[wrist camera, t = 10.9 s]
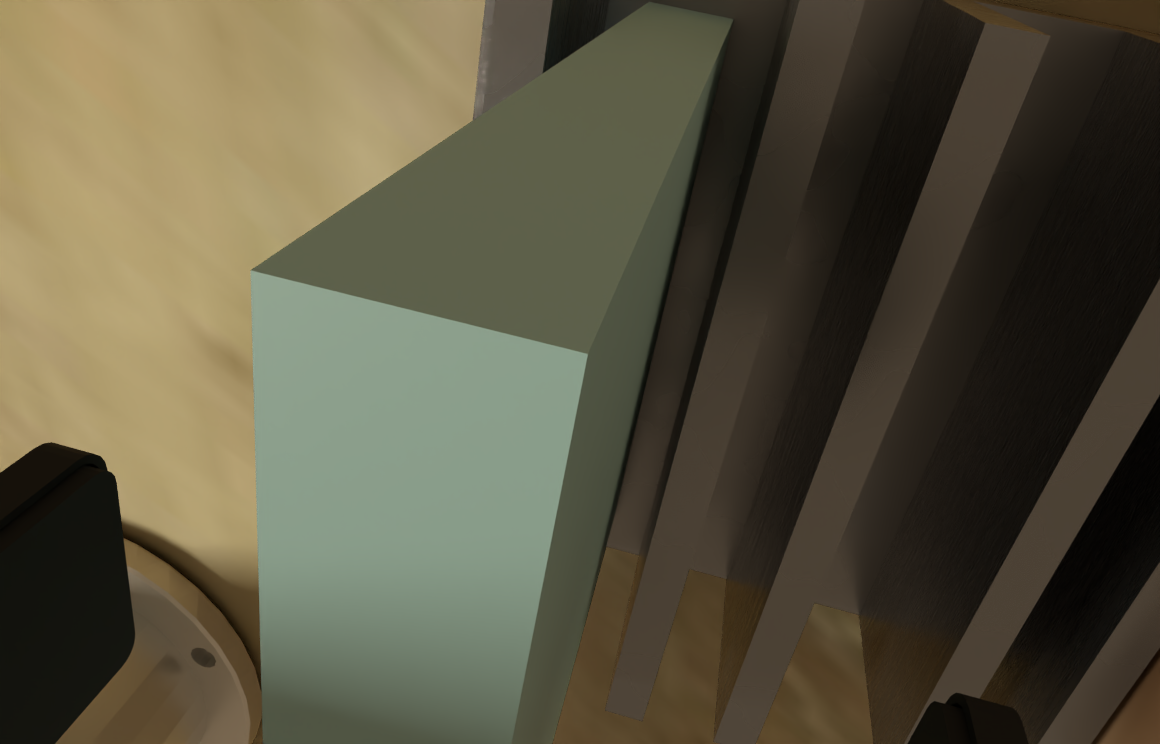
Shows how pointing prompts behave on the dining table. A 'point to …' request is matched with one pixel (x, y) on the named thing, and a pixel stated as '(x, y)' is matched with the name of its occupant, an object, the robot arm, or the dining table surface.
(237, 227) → the dining table surface
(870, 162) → the rack
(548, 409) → the teal sheet
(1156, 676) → the tall walnut offcut
